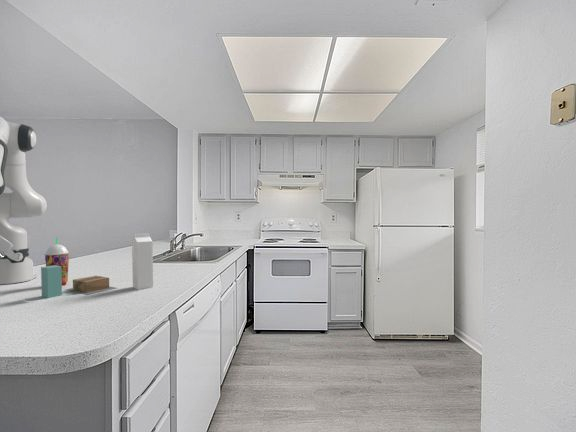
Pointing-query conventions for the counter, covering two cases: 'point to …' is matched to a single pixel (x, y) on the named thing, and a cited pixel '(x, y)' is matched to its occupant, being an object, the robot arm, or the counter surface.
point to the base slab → (90, 284)
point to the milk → (142, 261)
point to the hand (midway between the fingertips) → (9, 257)
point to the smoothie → (58, 259)
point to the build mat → (92, 291)
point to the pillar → (51, 281)
